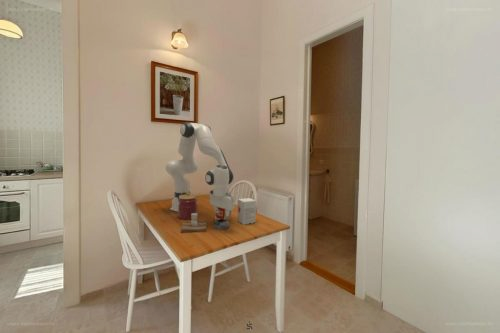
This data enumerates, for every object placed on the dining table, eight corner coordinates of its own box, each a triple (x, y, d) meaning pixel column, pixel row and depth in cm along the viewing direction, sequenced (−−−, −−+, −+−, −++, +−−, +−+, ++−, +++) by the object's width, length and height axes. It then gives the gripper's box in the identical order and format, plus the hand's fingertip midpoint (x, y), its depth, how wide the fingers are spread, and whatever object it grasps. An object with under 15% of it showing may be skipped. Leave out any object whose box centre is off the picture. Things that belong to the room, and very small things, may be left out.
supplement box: (237, 220, 146) (237, 198, 145) (249, 219, 150) (249, 197, 149) (243, 224, 138) (243, 201, 137) (255, 223, 142) (256, 200, 141)
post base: (183, 224, 137) (183, 211, 137) (206, 223, 140) (206, 210, 139) (180, 232, 123) (180, 217, 123) (206, 231, 126) (206, 217, 125)
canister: (194, 220, 146) (194, 194, 145) (175, 219, 147) (175, 193, 145) (199, 214, 159) (199, 190, 158) (181, 214, 160) (181, 190, 158)
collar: (213, 227, 133) (213, 220, 133) (222, 224, 138) (222, 218, 138) (220, 229, 129) (220, 223, 129) (228, 227, 133) (228, 220, 133)
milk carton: (214, 218, 149) (215, 190, 148) (222, 215, 158) (222, 188, 156) (226, 221, 146) (226, 191, 144) (233, 217, 154) (233, 189, 153)
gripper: (237, 193, 127) (237, 217, 128) (216, 189, 141) (216, 210, 142) (228, 195, 122) (228, 219, 123) (207, 190, 137) (208, 212, 137)
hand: (221, 214), depth 133 cm, fingers open, 8 cm apart
